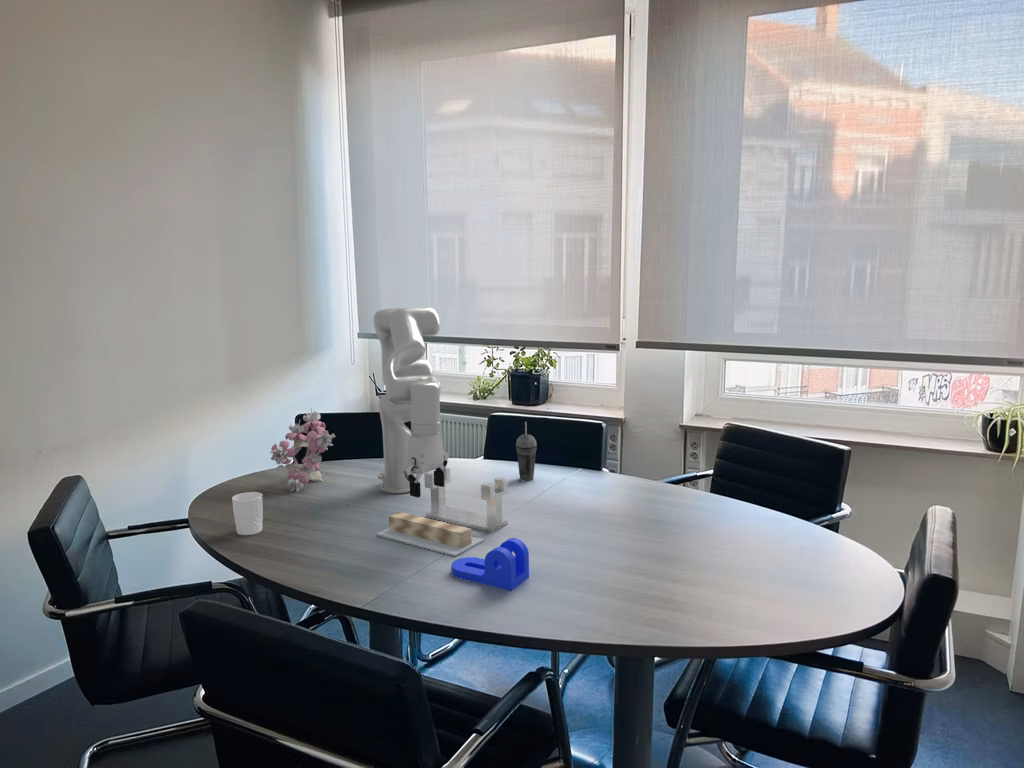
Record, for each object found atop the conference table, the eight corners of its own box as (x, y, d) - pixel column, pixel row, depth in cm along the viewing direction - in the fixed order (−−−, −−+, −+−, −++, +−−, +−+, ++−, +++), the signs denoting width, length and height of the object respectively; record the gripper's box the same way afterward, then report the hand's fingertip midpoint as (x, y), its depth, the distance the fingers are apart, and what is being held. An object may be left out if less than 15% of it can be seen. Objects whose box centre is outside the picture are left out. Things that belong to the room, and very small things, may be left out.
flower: (250, 479, 244) (256, 419, 231) (307, 458, 260) (316, 402, 248) (284, 515, 234) (292, 454, 222) (341, 491, 251) (352, 434, 238)
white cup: (271, 528, 202) (268, 494, 201) (250, 538, 195) (247, 502, 194) (249, 524, 206) (247, 490, 204) (228, 534, 199) (225, 498, 197)
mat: (376, 535, 196) (376, 533, 196) (406, 522, 206) (406, 520, 206) (455, 556, 181) (455, 554, 181) (483, 541, 191) (483, 539, 191)
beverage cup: (538, 476, 249) (537, 419, 246) (536, 482, 242) (536, 423, 238) (516, 475, 250) (516, 418, 246) (514, 482, 242) (514, 423, 239)
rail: (389, 529, 198) (388, 515, 198) (399, 525, 202) (398, 511, 201) (462, 548, 185) (461, 533, 184) (471, 543, 188) (471, 528, 187)
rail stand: (425, 517, 210) (424, 473, 207) (443, 509, 216) (442, 467, 214) (490, 532, 197) (490, 486, 195) (507, 523, 203) (506, 479, 201)
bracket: (529, 577, 169) (528, 540, 168) (511, 591, 162) (510, 553, 160) (464, 562, 178) (463, 527, 176) (444, 575, 171) (443, 539, 169)
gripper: (435, 419, 198) (437, 479, 201) (392, 433, 184) (394, 497, 187) (457, 423, 194) (458, 484, 197) (414, 437, 179) (416, 503, 183)
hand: (427, 491), depth 192 cm, fingers open, 9 cm apart
